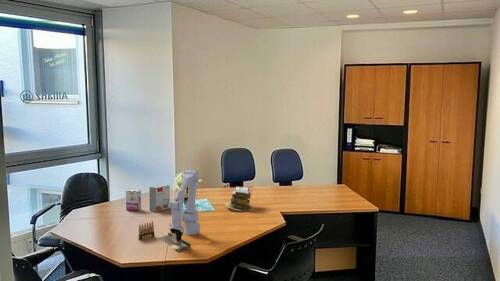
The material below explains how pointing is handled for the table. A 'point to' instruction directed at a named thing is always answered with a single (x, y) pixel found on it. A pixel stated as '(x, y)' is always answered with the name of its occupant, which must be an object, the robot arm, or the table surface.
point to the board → (178, 247)
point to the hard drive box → (159, 197)
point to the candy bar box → (133, 200)
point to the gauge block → (175, 239)
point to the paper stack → (240, 200)
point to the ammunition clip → (146, 231)
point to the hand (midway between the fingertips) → (177, 240)
